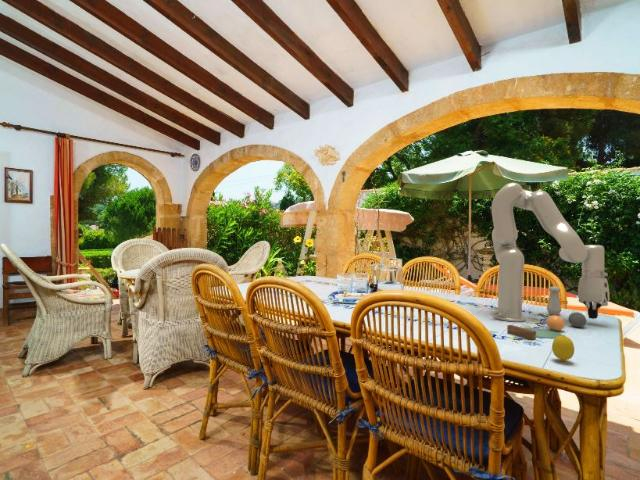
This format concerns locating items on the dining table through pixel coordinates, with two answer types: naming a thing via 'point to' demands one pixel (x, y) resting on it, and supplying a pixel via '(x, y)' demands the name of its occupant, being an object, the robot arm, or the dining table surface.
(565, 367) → the dining table surface
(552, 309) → the salt shaker
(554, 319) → the orange ball
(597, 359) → the dining table surface
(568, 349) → the lemon
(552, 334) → the green mark
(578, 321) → the charcoal ball
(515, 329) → the stopper wall
